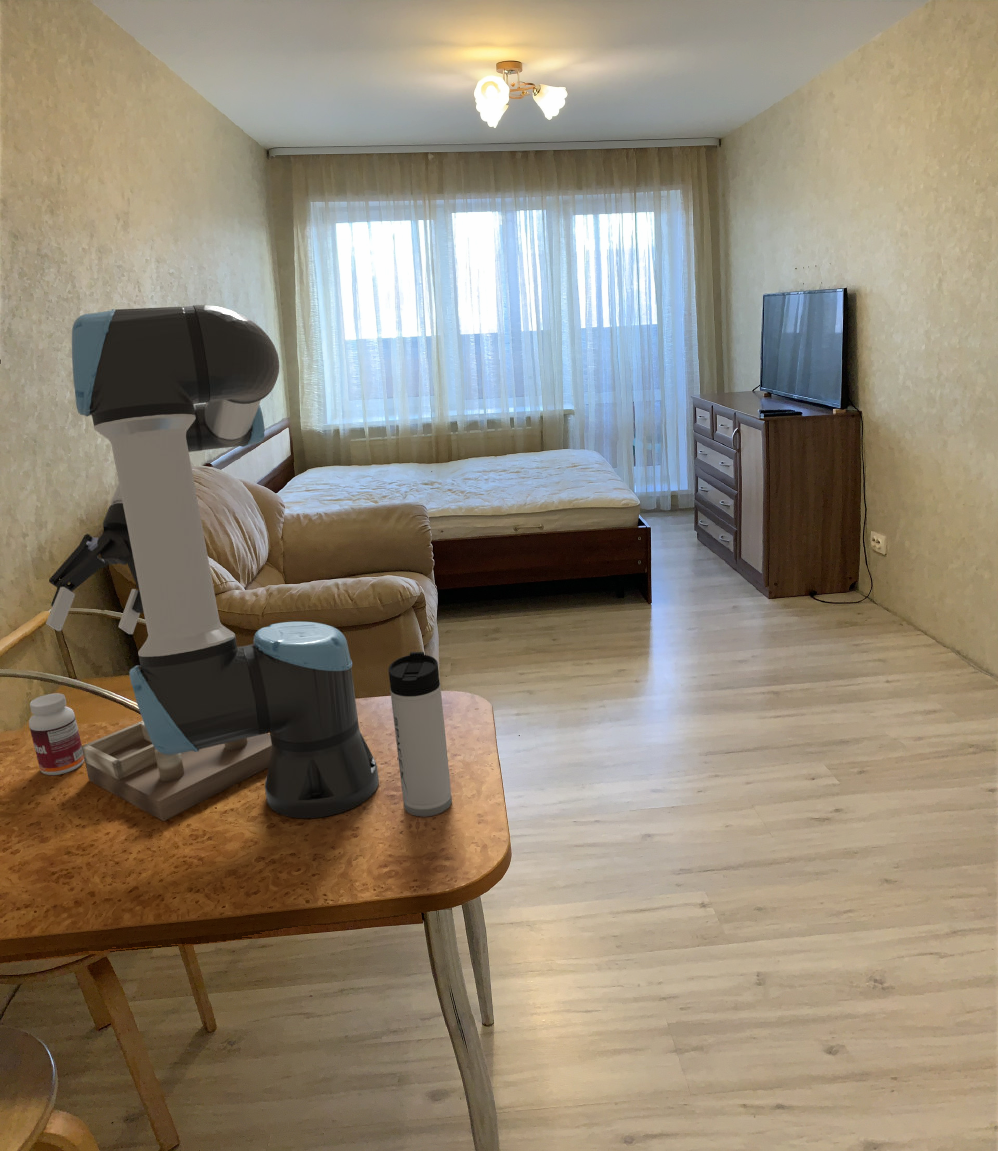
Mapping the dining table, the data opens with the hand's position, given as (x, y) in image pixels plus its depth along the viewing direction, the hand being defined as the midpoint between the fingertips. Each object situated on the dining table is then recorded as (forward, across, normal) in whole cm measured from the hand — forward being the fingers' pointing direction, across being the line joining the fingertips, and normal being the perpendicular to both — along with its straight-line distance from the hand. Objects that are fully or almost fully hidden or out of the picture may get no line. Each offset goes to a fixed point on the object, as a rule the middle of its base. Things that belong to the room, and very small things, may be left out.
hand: (88, 629), depth 139 cm
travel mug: (+21, -60, -3) cm, 63 cm away
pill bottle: (+21, 0, -5) cm, 21 cm away
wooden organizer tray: (+19, -21, -6) cm, 29 cm away
